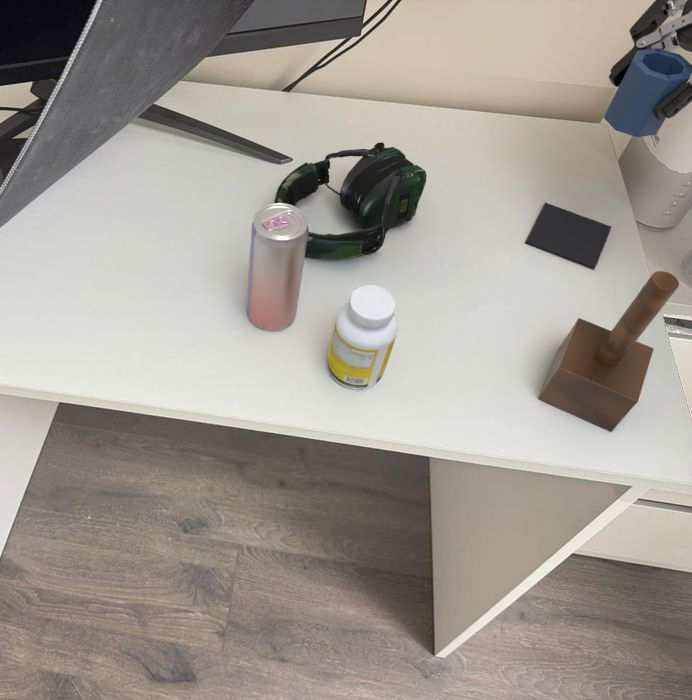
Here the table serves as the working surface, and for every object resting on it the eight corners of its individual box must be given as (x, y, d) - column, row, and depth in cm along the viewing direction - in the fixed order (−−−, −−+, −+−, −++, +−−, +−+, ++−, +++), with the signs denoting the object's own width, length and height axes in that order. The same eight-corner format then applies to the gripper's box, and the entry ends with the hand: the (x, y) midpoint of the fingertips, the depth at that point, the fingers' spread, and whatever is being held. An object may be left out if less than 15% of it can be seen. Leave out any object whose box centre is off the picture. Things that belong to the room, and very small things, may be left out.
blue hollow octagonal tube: (663, 116, 81) (697, 59, 75) (653, 142, 78) (687, 85, 72) (611, 100, 83) (640, 43, 77) (599, 125, 80) (628, 68, 74)
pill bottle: (375, 343, 83) (396, 275, 74) (389, 389, 79) (413, 323, 70) (320, 348, 82) (335, 280, 73) (332, 394, 78) (349, 328, 69)
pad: (610, 228, 95) (611, 226, 95) (593, 269, 91) (595, 267, 90) (544, 204, 98) (545, 202, 98) (524, 243, 93) (526, 241, 93)
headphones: (362, 127, 98) (245, 195, 94) (417, 106, 86) (285, 184, 82) (401, 213, 102) (290, 283, 97) (460, 205, 89) (335, 285, 85)
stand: (627, 380, 80) (718, 270, 66) (611, 432, 76) (704, 326, 62) (557, 350, 83) (630, 238, 68) (537, 399, 79) (611, 290, 64)
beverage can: (238, 304, 86) (242, 210, 74) (281, 289, 88) (292, 195, 76) (260, 339, 83) (268, 247, 71) (304, 323, 84) (320, 231, 73)
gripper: (721, -87, 72) (580, 47, 78) (845, -23, 64) (677, 120, 70) (728, -41, 77) (596, 80, 84) (844, 22, 70) (689, 151, 76)
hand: (634, 98), depth 77 cm, fingers closed on blue hollow octagonal tube, 6 cm apart
